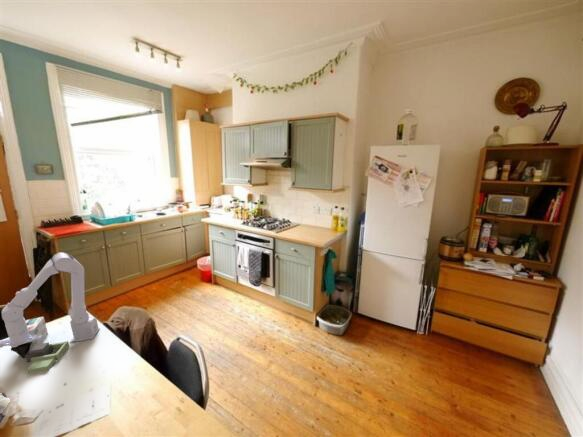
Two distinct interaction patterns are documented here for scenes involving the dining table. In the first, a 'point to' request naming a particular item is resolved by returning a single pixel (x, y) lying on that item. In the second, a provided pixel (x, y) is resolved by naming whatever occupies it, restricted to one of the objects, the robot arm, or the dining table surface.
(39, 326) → the light bulb box
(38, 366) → the green tray
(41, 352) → the chute block
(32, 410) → the dining table surface
